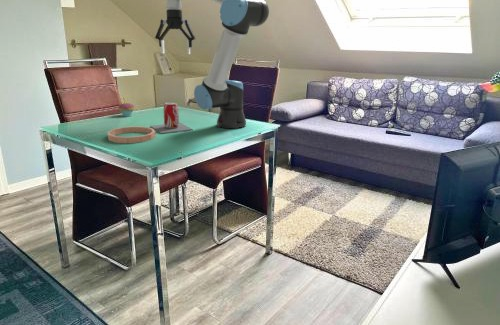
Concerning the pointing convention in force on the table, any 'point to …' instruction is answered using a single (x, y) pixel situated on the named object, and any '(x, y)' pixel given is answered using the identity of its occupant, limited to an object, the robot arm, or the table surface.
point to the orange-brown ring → (131, 139)
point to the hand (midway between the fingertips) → (175, 53)
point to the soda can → (171, 115)
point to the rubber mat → (164, 130)
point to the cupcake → (126, 108)
